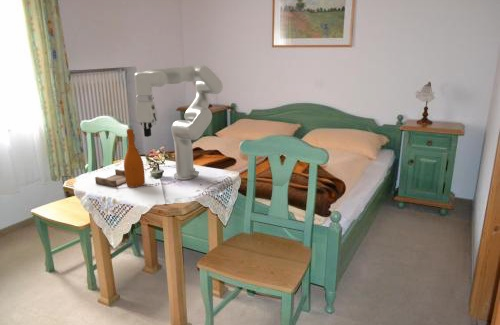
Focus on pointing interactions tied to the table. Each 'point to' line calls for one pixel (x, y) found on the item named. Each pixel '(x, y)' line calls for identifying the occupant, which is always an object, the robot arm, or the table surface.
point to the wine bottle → (133, 164)
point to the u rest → (112, 179)
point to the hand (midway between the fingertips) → (147, 136)
